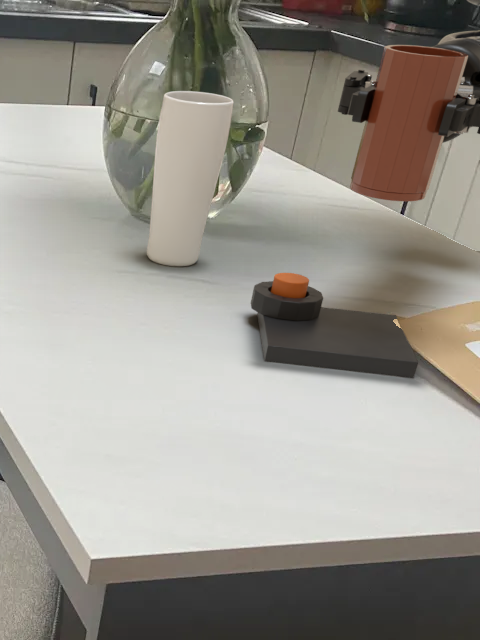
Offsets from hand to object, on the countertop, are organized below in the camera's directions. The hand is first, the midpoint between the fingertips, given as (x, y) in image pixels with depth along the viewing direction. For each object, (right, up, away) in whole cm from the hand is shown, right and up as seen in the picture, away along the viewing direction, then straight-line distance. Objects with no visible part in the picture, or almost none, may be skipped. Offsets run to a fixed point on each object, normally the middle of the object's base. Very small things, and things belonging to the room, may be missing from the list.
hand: (402, 113), depth 82 cm
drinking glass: (-12, 0, +29) cm, 31 cm away
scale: (-2, -14, +11) cm, 18 cm away
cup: (+1, -4, +5) cm, 6 cm away
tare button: (-5, -9, +12) cm, 16 cm away
